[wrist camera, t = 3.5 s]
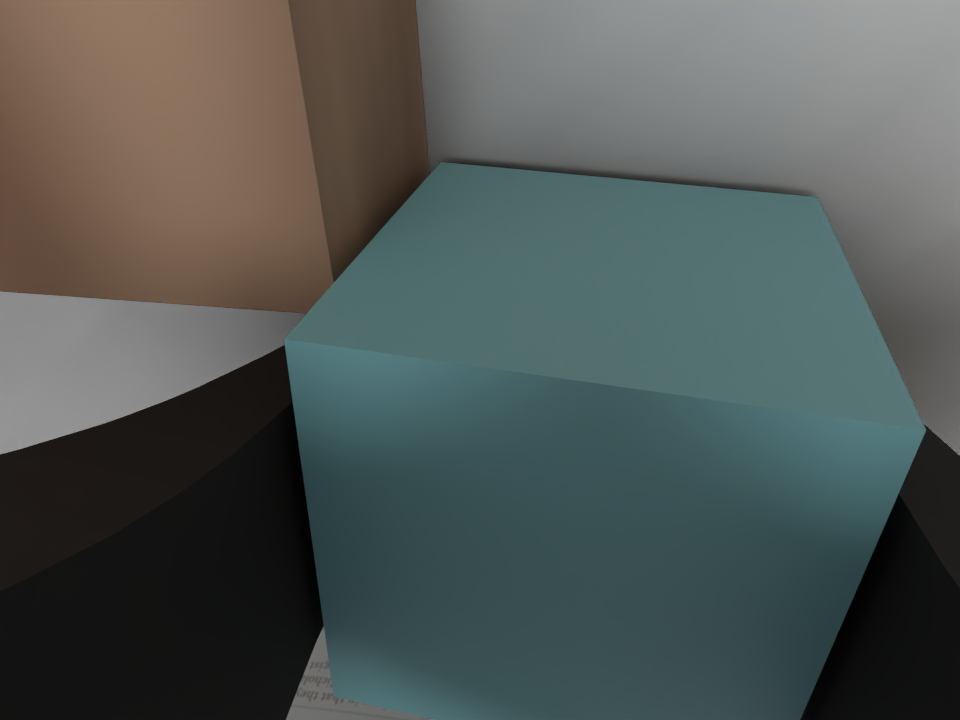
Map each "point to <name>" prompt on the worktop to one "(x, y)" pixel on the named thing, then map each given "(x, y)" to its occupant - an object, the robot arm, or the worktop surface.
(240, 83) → the walnut block
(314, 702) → the supplement box
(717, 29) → the worktop surface
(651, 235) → the teal cube
